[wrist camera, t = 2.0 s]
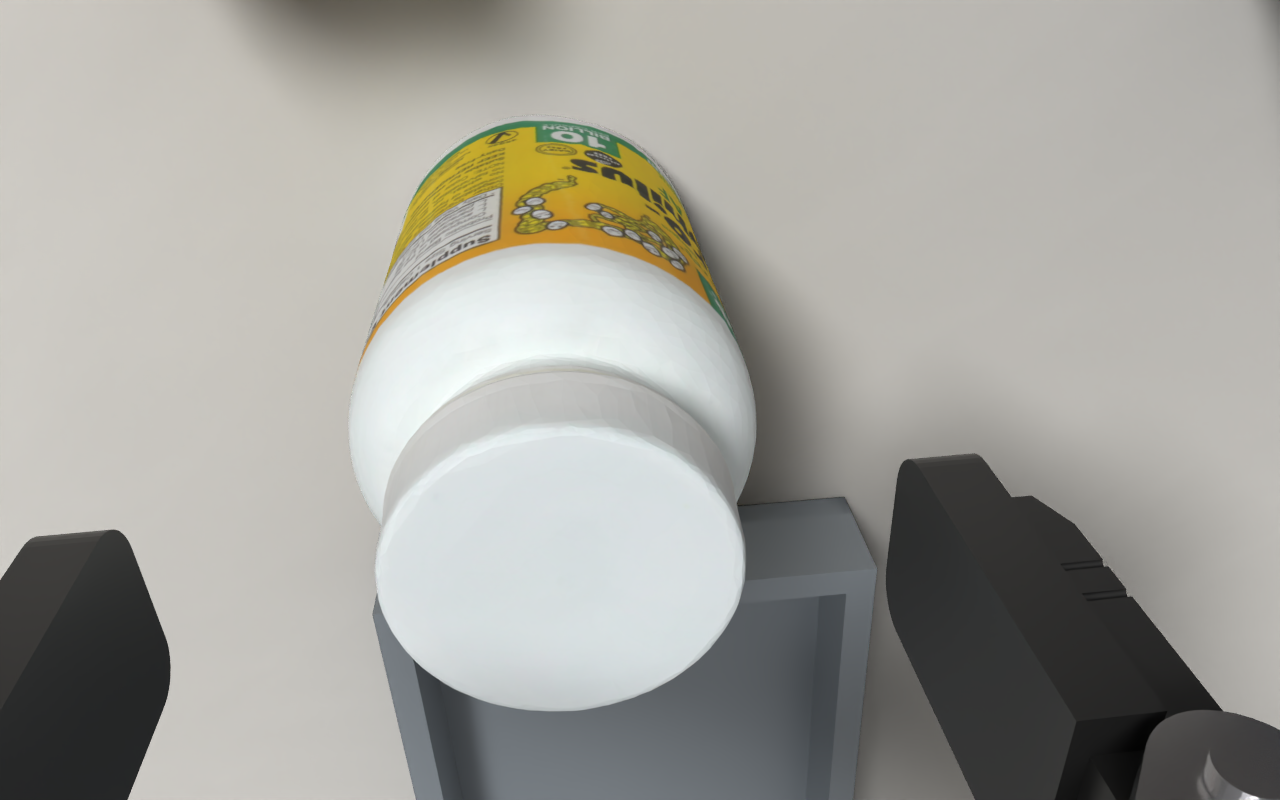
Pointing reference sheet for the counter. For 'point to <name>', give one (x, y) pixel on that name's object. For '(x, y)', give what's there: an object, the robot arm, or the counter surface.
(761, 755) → the tray
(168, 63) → the counter surface
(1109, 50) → the counter surface
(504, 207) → the supplement bottle
